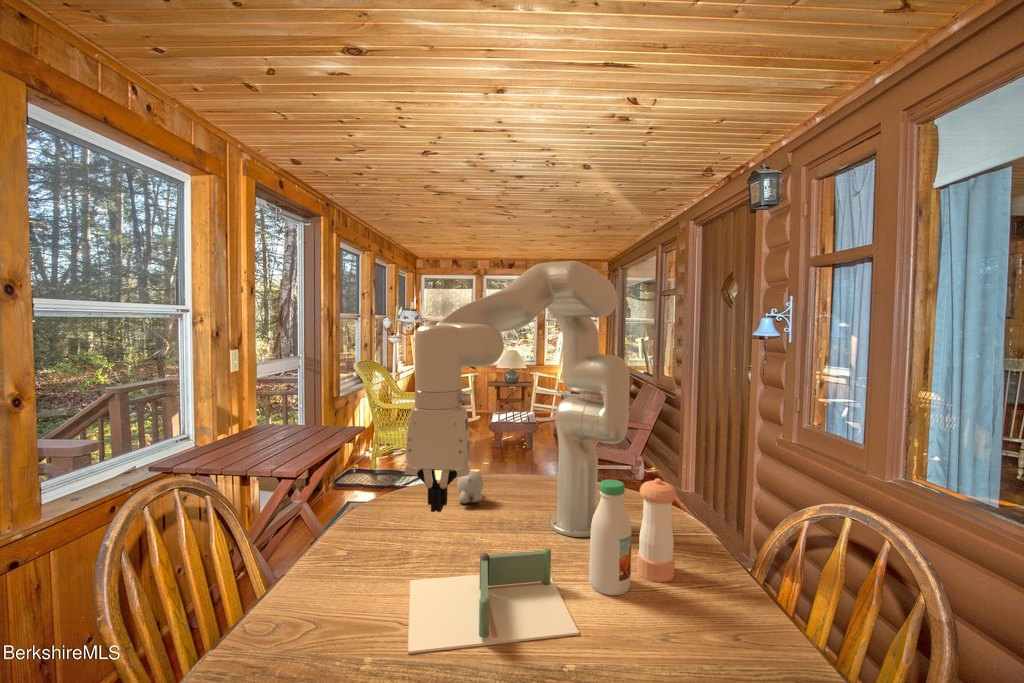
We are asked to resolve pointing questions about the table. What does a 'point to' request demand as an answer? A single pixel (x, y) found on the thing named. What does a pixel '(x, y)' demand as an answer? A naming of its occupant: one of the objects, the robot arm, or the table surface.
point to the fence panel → (484, 602)
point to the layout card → (455, 613)
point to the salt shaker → (656, 532)
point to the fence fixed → (518, 567)
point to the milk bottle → (610, 542)
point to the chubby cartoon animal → (470, 487)
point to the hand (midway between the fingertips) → (437, 508)
